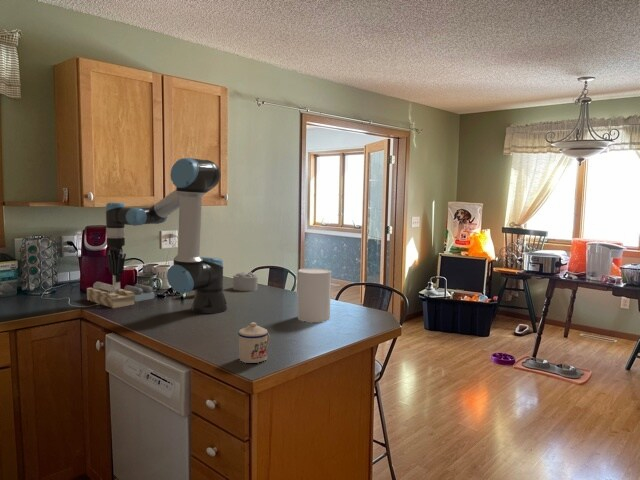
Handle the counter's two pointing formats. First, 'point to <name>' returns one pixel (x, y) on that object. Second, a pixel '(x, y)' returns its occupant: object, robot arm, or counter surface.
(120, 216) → the robot arm
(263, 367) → the counter surface
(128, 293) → the beige egg carton
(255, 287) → the lumpy-topped squat cylinder
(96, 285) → the axle
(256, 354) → the teacup with lid
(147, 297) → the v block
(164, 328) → the counter surface
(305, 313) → the canister
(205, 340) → the counter surface
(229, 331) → the counter surface
